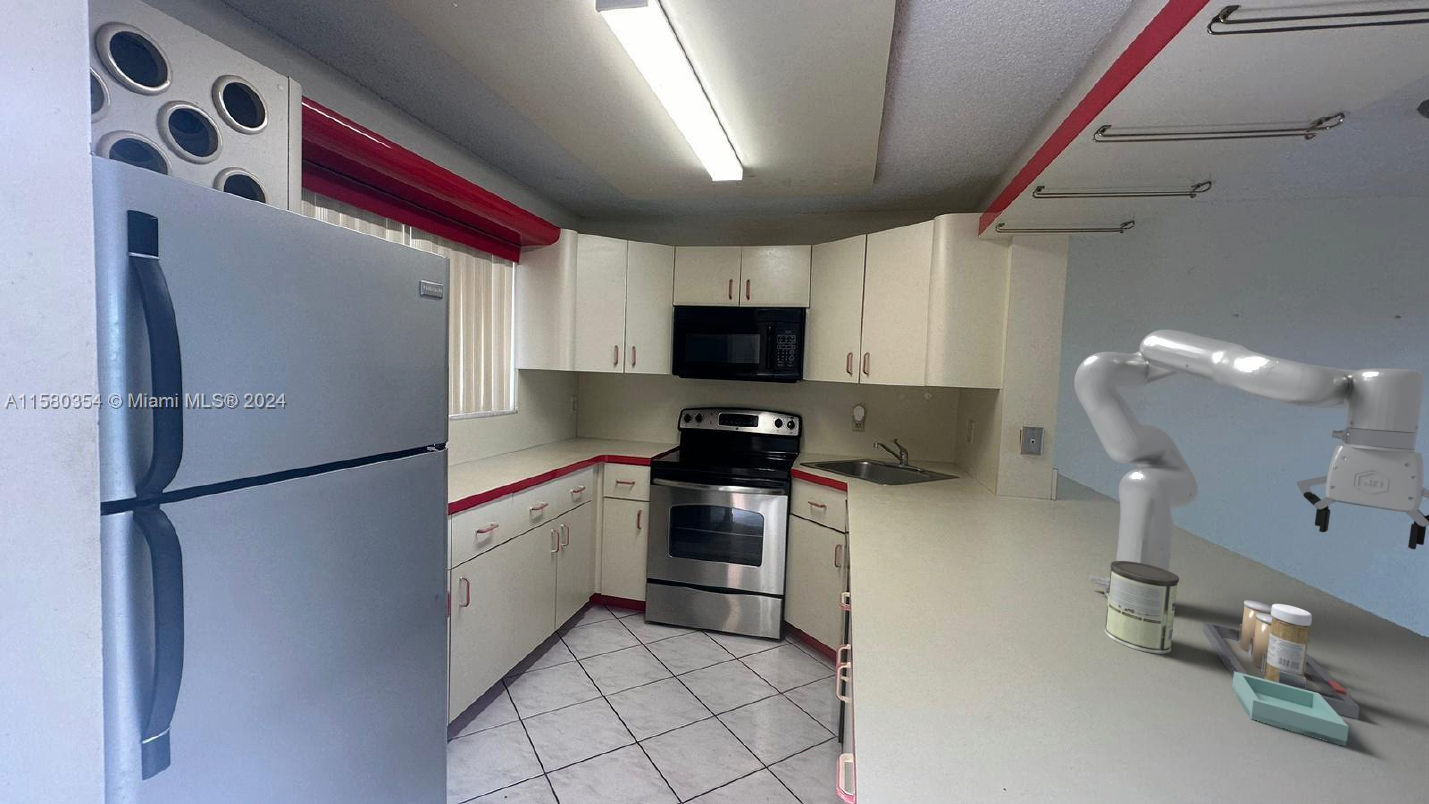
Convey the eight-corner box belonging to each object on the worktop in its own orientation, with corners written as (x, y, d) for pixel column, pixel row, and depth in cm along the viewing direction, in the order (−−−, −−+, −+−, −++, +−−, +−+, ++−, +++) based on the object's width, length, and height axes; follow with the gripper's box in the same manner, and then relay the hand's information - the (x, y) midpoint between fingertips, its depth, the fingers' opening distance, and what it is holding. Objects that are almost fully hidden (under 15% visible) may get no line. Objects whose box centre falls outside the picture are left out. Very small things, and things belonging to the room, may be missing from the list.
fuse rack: (1239, 687, 87) (1241, 667, 87) (1202, 631, 108) (1204, 614, 108) (1357, 719, 80) (1360, 697, 80) (1294, 652, 101) (1296, 634, 100)
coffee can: (1098, 622, 109) (1104, 556, 108) (1160, 635, 104) (1167, 567, 104) (1111, 645, 99) (1118, 572, 99) (1180, 660, 95) (1188, 584, 94)
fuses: (1255, 667, 94) (1260, 619, 93) (1236, 642, 103) (1241, 598, 103) (1288, 676, 92) (1294, 626, 91) (1265, 649, 101) (1271, 604, 101)
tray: (1251, 719, 78) (1253, 700, 78) (1232, 688, 87) (1234, 671, 86) (1346, 747, 73) (1348, 726, 73) (1316, 711, 81) (1318, 693, 81)
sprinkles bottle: (1305, 689, 88) (1315, 611, 87) (1299, 697, 85) (1309, 617, 85) (1266, 675, 92) (1275, 600, 91) (1259, 682, 89) (1269, 605, 88)
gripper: (1299, 434, 94) (1287, 527, 95) (1467, 449, 80) (1451, 559, 81) (1307, 433, 98) (1295, 523, 99) (1468, 448, 84) (1453, 552, 85)
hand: (1365, 539), depth 90 cm, fingers open, 9 cm apart
